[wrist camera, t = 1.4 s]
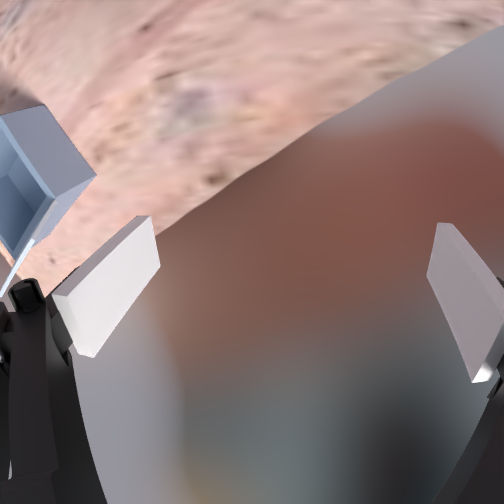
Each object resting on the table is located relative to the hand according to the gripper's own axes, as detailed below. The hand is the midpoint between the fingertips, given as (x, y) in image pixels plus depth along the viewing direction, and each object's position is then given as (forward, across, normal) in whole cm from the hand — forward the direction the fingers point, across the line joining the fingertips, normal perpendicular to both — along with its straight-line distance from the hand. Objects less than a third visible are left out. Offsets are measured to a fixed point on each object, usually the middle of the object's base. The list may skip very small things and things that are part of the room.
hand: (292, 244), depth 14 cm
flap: (+14, -37, -9) cm, 41 cm away
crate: (+28, -43, -1) cm, 51 cm away
